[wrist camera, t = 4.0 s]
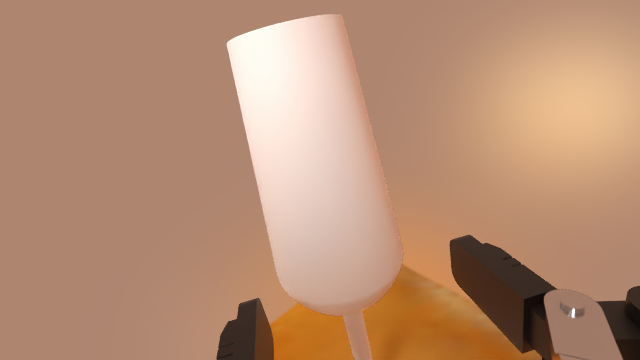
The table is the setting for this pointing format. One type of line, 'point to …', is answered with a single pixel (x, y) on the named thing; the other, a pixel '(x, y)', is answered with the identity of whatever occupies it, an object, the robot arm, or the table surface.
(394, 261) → the champagne flute
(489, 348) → the table surface
